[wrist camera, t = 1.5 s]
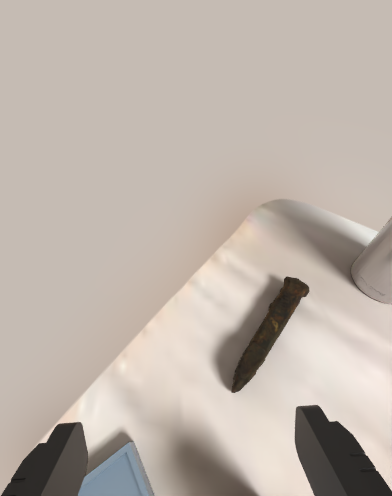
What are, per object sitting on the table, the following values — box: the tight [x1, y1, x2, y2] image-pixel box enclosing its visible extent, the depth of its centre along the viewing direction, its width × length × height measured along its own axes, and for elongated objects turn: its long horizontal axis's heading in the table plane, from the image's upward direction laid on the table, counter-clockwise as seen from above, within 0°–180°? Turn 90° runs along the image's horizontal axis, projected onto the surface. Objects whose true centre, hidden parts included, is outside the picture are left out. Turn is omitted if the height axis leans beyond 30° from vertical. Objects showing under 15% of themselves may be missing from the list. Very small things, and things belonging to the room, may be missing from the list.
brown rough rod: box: [232, 277, 309, 393], centre depth 34 cm, size 19×4×5 cm, turn 139°
